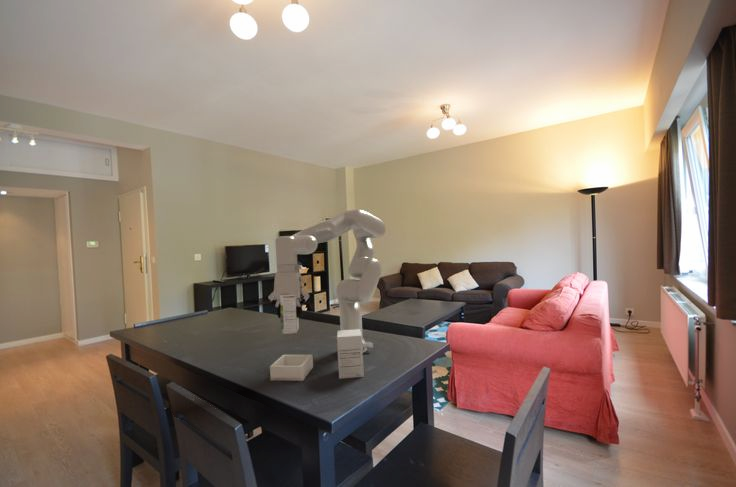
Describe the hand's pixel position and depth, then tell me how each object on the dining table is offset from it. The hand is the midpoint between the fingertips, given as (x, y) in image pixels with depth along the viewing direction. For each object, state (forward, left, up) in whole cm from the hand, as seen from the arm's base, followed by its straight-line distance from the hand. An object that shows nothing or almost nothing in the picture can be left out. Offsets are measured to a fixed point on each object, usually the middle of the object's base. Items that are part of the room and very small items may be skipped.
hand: (289, 316), depth 123 cm
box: (0, 0, -21) cm, 21 cm away
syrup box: (0, 0, -6) cm, 6 cm away
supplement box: (-22, -1, -22) cm, 31 cm away
